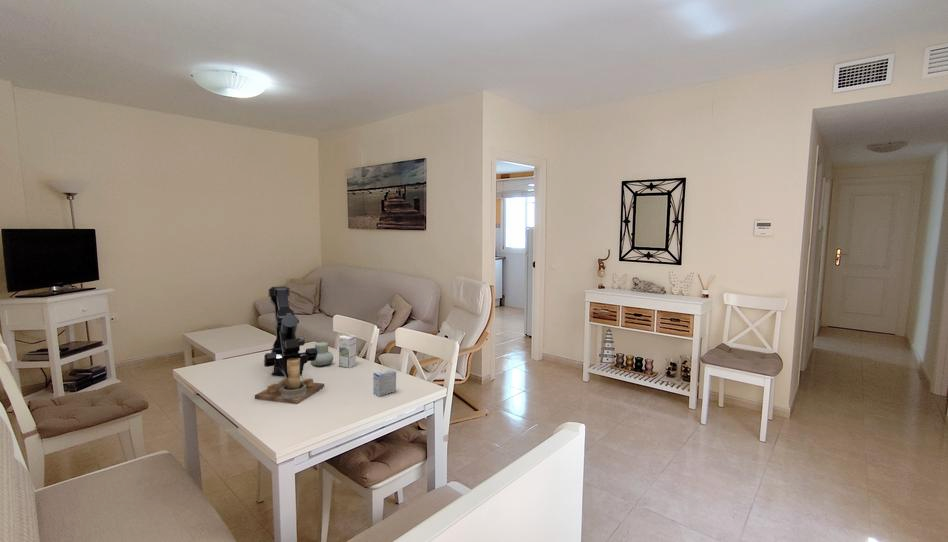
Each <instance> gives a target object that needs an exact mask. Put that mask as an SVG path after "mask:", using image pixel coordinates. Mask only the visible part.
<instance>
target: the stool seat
mask: <svg viewBox="0 0 948 542" xmlns="http://www.w3.org/2000/svg"><path fill="white" fill-rule="evenodd" d="M323 387H324V388H325V383H323V382H322V383H321V382H314V379H313V378H304V379H302V380H300V389H297V390H288V389H287V378H286V377H285V376H283V378H282V381H280V382H277V383H270V384H268V385H266V389H264V390H261V391H259V392H257V393H256V394H254V400H260V399H261V401H270V402H276V403H277V402H279V403H287V404H294V405H298V404H300V403H301V402H303V401H304V399H305V400H306V399H307V398H309V397H311V396H312V394H313V395H314V394H316V393H317V392H319V391H320V389H321V390H322V389H324V388H323ZM315 392H316V393H315Z"/></svg>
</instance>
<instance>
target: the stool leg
mask: <svg viewBox="0 0 948 542" xmlns="http://www.w3.org/2000/svg"><path fill="white" fill-rule="evenodd" d="M287 373H288V378H287V389H288V390H297V389H300V381H301V376H300V358H290V359H288V360H287Z"/></svg>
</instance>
